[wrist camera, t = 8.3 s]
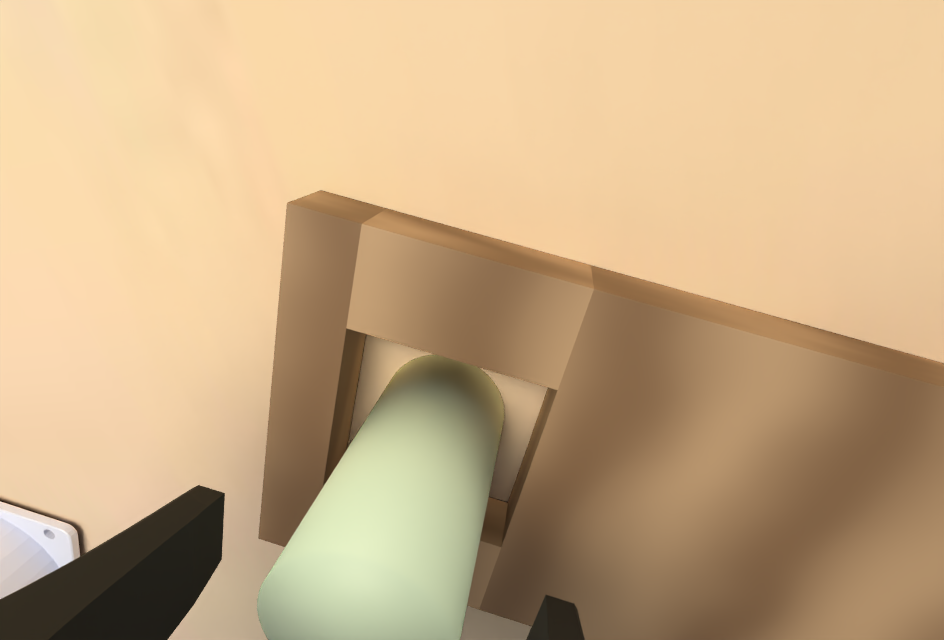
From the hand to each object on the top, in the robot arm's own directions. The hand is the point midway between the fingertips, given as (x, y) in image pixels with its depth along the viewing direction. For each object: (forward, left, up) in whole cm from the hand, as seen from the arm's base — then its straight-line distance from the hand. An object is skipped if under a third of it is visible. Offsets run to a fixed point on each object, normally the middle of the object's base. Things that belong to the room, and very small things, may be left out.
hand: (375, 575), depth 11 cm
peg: (0, 0, -7) cm, 7 cm away
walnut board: (+6, 0, -7) cm, 9 cm away
